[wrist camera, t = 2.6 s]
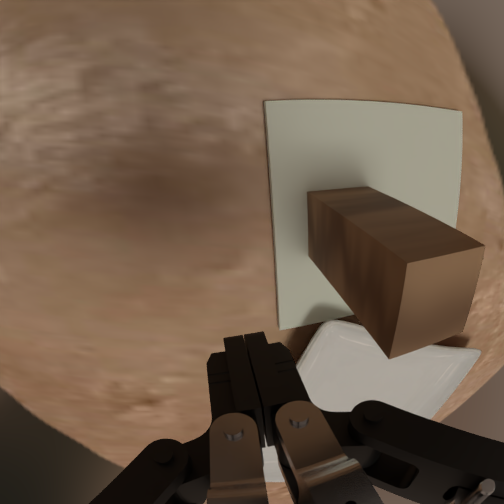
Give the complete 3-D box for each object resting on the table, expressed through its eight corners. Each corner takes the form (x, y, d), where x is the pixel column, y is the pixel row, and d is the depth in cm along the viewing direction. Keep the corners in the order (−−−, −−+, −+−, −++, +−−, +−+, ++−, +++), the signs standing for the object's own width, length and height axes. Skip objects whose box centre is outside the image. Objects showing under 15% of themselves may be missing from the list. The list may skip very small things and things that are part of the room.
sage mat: (263, 101, 20) (265, 101, 19) (457, 111, 22) (462, 111, 21) (278, 326, 27) (279, 330, 26) (440, 287, 29) (444, 290, 29)
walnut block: (306, 191, 22) (407, 263, 11) (368, 186, 23) (485, 245, 12) (308, 256, 24) (388, 359, 13) (365, 247, 25) (462, 331, 14)
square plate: (310, 294, 27) (327, 320, 23) (469, 336, 35) (485, 352, 31) (211, 460, 35) (215, 484, 31) (366, 458, 43) (375, 475, 40)
